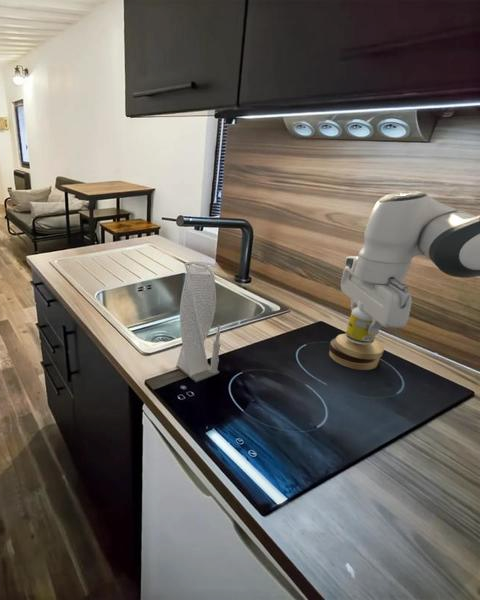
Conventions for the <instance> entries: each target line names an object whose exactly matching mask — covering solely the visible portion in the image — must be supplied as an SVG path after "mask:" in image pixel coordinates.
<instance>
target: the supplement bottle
mask: <svg viewBox="0 0 480 600" xmlns="http://www.w3.org/2000/svg"><path fill="white" fill-rule="evenodd" d="M363 305H364V304H363V303H362V302H361V301H360V300H359V302H358V305H357V306H358V307H356V308H354V309H353V310H352V309H351V312H352V313H350V317H349V319H348V324H347V328H346V332H345V334H346V338H347V339H348V340H349V341H351V342H354V343H357V344H362V345H369V344H372V343H373V341H374V340H375V338H376V335H369V334H368V333H367V332H366V327H367V325H371V323H372V322H373V321H372V317H371V316H370V315H369V314H368V313H367V312H365V311H364V310H363Z"/></svg>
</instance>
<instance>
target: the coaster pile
mask: <svg viewBox="0 0 480 600" xmlns="http://www.w3.org/2000/svg"><path fill="white" fill-rule="evenodd" d="M328 348H329V351H328V355H329V357H330V359H332V360H333V361H334V362H335V363H337V364H339V365H341V366H343V367H347V368H348V369H349V368H350V369H353V370H358V371H370V370H374V369H376V368H377V367H378V366H379V362H380V359H381V357H382V356H383V355H384V351H385V347H384V345H383V344H382V343H381V342H380V341H378V340H376V339H374V341H373V343H372V344H369V345H362V344H357V343H354V342H351V341H349V340H348V339H347V338H346V333H340V334H338V335H337V336H336V337H335V338H333V339H331V341H330V342H329V346H328Z"/></svg>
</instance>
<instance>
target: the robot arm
mask: <svg viewBox="0 0 480 600" xmlns="http://www.w3.org/2000/svg"><path fill="white" fill-rule="evenodd" d="M363 239H364V241H363V245H362V247H361V248H360V250H359V252H358V255H351V256H350V255H349V256H346V257H345V259H344V264H343V265H344V269H343V272H342V275H341V280H340V291H341V292H342V293H343V294H344V295H345V296H347V297H348V298H349V299H350V300H351V301H350V308H351V313H352V310H353V309H354V308H356V307H358V306H357V305H358V302H359V300H360V301H361V302H362V303H363V304H364V305H363V310H364V311H365V312H367V313H368V314H369V315H370V316H371V317H372V321H373V322H372V323H371V325H367V327H366V332H367V333H368V334H369V335H375V336H377V335H379V332H380V329H381V328H382V327H383V328H386V329H403V328H404V327H406V326H407V324H408V320H409V316H410V313H411V309H412V305H413V304H412V303H413V298H412V295H411V293H410V292H409V287H408V286H407V284H405V283H404V282H405V281H406V277H407V275H408V272H409V269H410V266H411V263H412V261H413V259H414V257H416V256H425V257H426V258H427V259H429V260H430V261H431V262H432V263H433V264H434V265H435V267H436V268H438V270H439V271H441V272H442V273H443V274H446V275H448V276H450V277H455V278H461V279H465V278H466V279H467V278H476V277H480V215H477V216H476V215H475V214H472V213H470V212H467V211H464V210H461V209H458V208H456V207H452V206H450V205H446V204H444V203H441V202H440V201H438V200H436V199H434V198H433V197H431V196H430V195H429V194H428V193H426V192H423V191H415V190H413V191H397V192H393V193H389V194H387V195H384V196H382V197H381V198H379V199H378V200H377V202H376V203H375V205H374V206H373V208H372V210H371V213H370V216H369V218H368V220H367V224H366V227H365V229H364V234H363ZM351 313H350V314H351Z"/></svg>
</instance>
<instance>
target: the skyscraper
mask: <svg viewBox="0 0 480 600" xmlns="http://www.w3.org/2000/svg"><path fill="white" fill-rule="evenodd" d="M184 269H185V271H186V275H185V278H184V283H183V287H182V291H181V298H180V304H179V305H180V306H179V326H180V327H179V329H180V338H181V344H182V345H181V348H180V351H179V355H178V358H177V361H176V366H175V367H176V368H177V369H179V370H180V371H181V372H182V373H184V374H185V375H186V376H187V377H189V379H191V380H193V381H194V382H195V383H198V382H200V381H203V380H206V379H208V378H210V377H214V376H216V375H218V374H220V371H219V370H218V366H219V362H220V359H219V357H220V356H219V353H220V349H221V344H222V343H221V342H220V337H221V332H220V328H221V325H220V324H219V325H217V331H216V332H215V340H214V341H213V344H212V355H211V357H210V364H209V363H208V360H207V359H208V358H207V353H206V349H205V342H206V340H207V337H208V335H209V333H210V330H211V328H212V325H213V323H214V318H215V314H216V308H217V289H216V279H215V274H214V269H215V265H214V264H213V263H212V262H211V263H210V262H205V261H188V262H185V263H184Z"/></svg>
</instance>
